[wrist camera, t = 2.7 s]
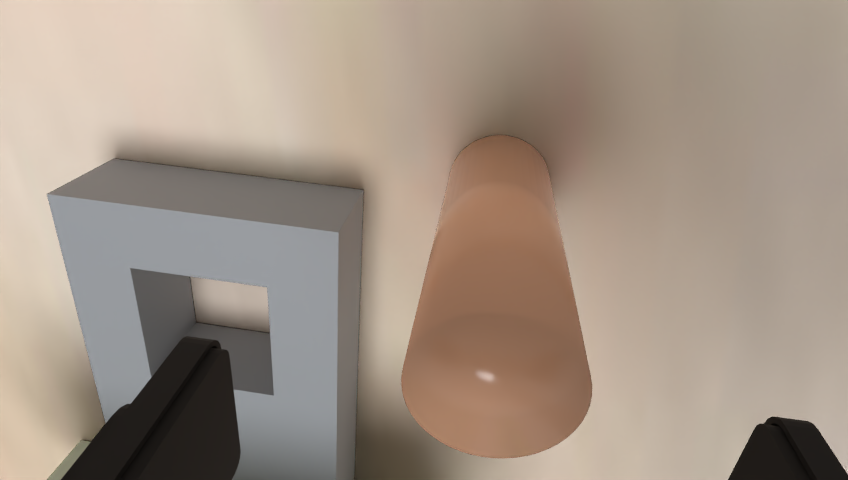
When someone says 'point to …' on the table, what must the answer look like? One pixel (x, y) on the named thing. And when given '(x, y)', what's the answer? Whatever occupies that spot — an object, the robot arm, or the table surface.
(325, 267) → the socket
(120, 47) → the table surface
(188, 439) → the robot arm
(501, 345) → the peg
